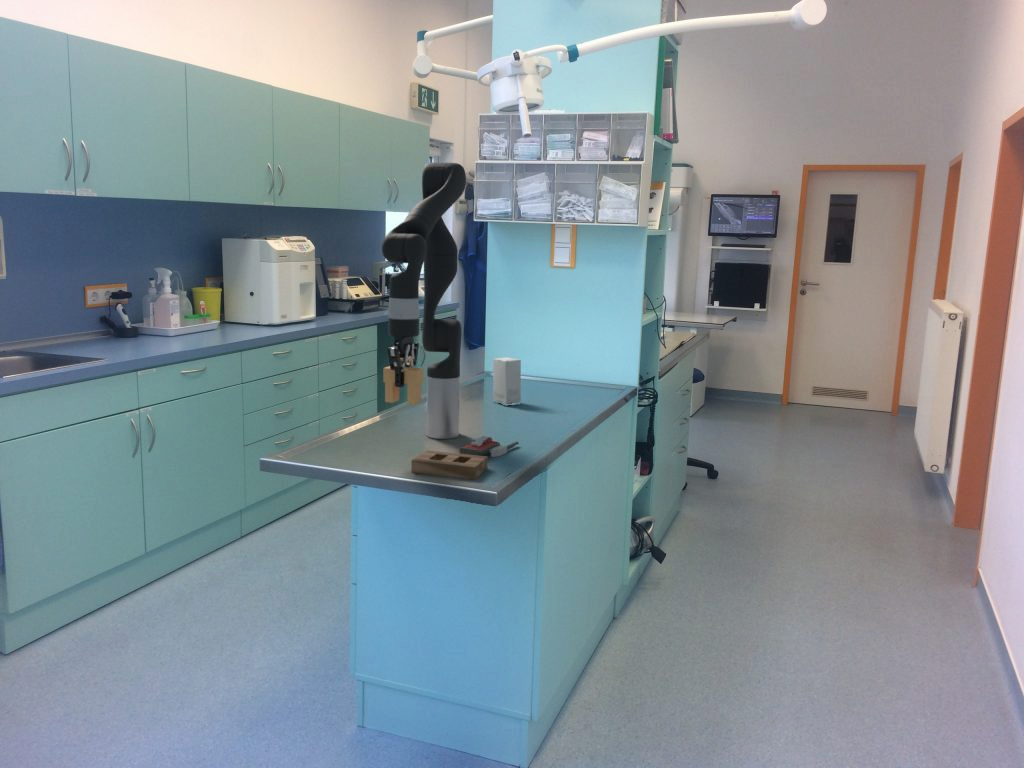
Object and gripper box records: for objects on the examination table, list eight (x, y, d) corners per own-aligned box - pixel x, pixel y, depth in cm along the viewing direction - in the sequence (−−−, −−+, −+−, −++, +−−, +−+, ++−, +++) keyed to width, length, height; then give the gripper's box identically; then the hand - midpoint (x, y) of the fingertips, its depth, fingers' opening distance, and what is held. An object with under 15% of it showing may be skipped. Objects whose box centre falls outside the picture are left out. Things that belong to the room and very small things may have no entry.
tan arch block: (390, 399, 205) (390, 365, 204) (423, 401, 203) (423, 368, 201) (383, 401, 201) (383, 368, 200) (416, 404, 199) (417, 370, 197)
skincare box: (521, 405, 277) (522, 359, 274) (504, 406, 273) (506, 361, 270) (507, 400, 284) (508, 356, 281) (491, 402, 280) (492, 357, 277)
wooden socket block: (426, 461, 204) (427, 450, 204) (487, 468, 200) (487, 456, 199) (411, 472, 195) (411, 460, 194) (474, 479, 190) (474, 467, 190)
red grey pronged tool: (484, 465, 204) (521, 448, 222) (484, 448, 203) (521, 432, 221) (454, 459, 208) (493, 443, 226) (454, 443, 207) (493, 428, 225)
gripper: (406, 319, 191) (405, 391, 194) (429, 315, 204) (428, 382, 207) (377, 317, 193) (376, 388, 196) (401, 313, 206) (401, 379, 209)
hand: (403, 385), depth 201 cm, fingers closed on tan arch block, 4 cm apart
